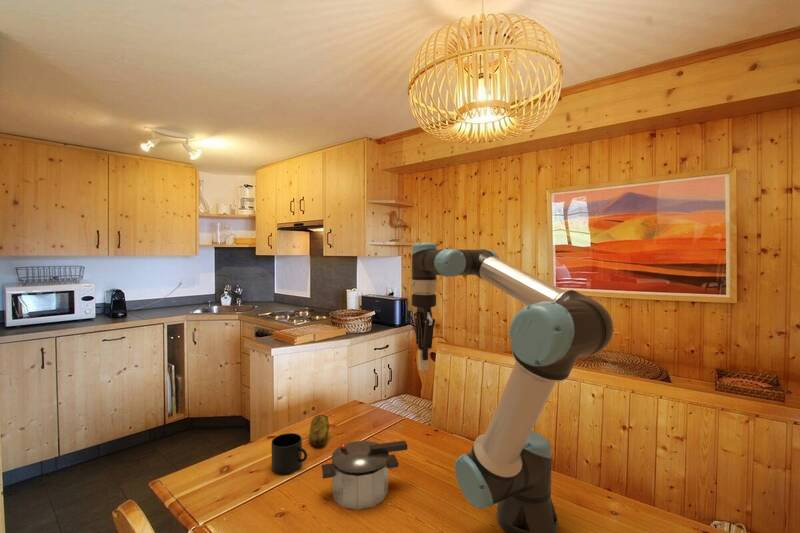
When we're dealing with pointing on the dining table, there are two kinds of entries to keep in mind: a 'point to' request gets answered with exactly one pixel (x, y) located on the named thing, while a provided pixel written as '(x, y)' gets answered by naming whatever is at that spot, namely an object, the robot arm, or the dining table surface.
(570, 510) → the dining table surface
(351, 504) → the pot
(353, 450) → the lid
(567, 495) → the dining table surface
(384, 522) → the dining table surface
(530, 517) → the robot arm
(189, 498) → the dining table surface
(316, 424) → the potato
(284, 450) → the mug
